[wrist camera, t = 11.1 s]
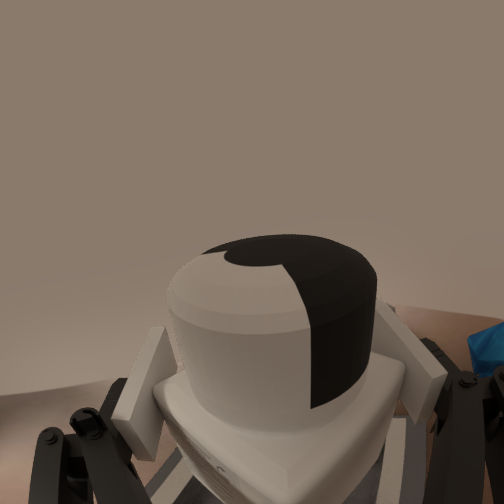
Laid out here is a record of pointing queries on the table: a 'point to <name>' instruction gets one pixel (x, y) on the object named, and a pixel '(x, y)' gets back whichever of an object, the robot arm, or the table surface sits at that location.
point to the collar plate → (361, 498)
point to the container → (278, 370)
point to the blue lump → (487, 350)
